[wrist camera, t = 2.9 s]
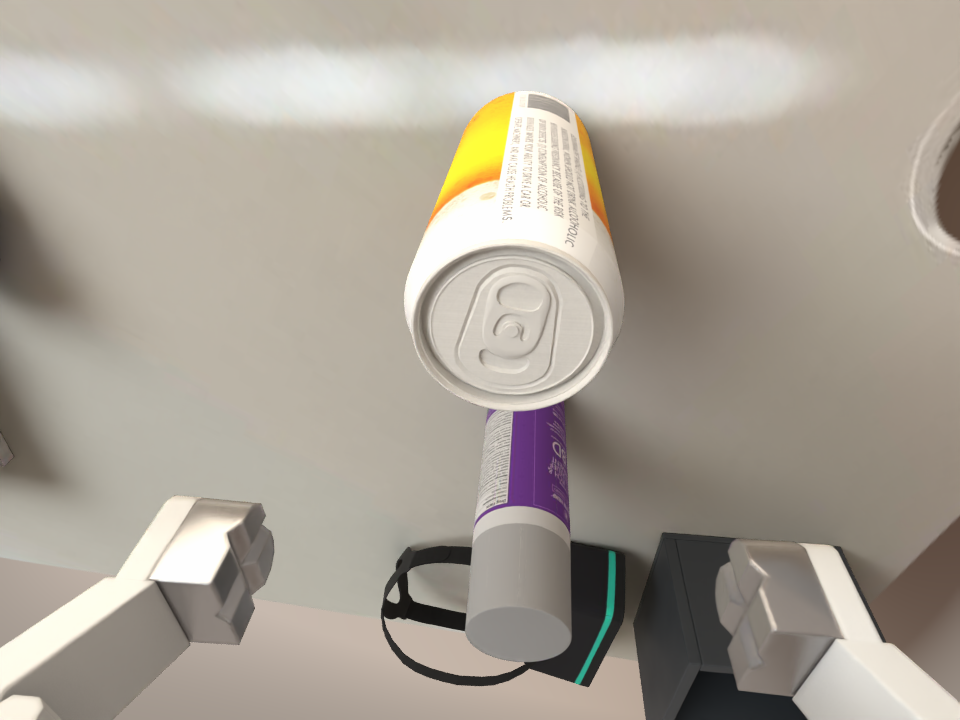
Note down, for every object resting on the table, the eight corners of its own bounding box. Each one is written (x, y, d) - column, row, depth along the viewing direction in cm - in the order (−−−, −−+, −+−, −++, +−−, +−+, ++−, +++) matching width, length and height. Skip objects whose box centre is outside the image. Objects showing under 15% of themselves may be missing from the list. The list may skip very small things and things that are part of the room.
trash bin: (840, 546, 42) (907, 684, 34) (783, 636, 49) (827, 766, 41) (662, 532, 42) (688, 663, 35) (633, 623, 50) (649, 747, 42)
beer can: (452, 205, 29) (387, 401, 17) (471, 74, 25) (406, 203, 13) (571, 229, 29) (590, 438, 17) (607, 102, 25) (664, 254, 13)
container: (580, 397, 35) (599, 636, 23) (532, 439, 38) (526, 674, 26) (520, 358, 34) (507, 590, 22) (474, 404, 37) (440, 635, 25)
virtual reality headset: (590, 624, 50) (583, 753, 42) (403, 574, 51) (361, 689, 43) (625, 548, 43) (624, 684, 35) (409, 493, 45) (361, 611, 37)
